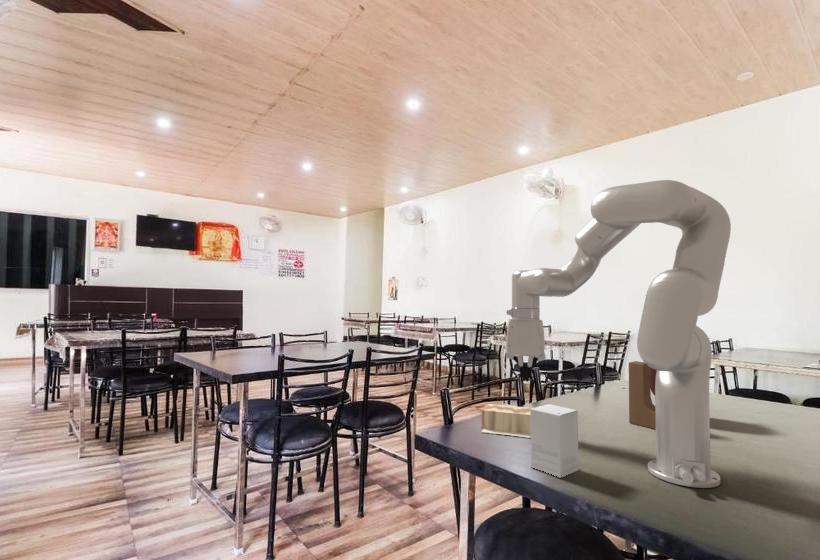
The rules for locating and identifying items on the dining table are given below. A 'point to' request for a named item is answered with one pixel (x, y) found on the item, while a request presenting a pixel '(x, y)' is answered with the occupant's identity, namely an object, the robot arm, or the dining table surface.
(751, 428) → the dining table surface
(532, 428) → the supplement box
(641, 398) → the wooden block
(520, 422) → the ash block
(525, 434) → the pad
